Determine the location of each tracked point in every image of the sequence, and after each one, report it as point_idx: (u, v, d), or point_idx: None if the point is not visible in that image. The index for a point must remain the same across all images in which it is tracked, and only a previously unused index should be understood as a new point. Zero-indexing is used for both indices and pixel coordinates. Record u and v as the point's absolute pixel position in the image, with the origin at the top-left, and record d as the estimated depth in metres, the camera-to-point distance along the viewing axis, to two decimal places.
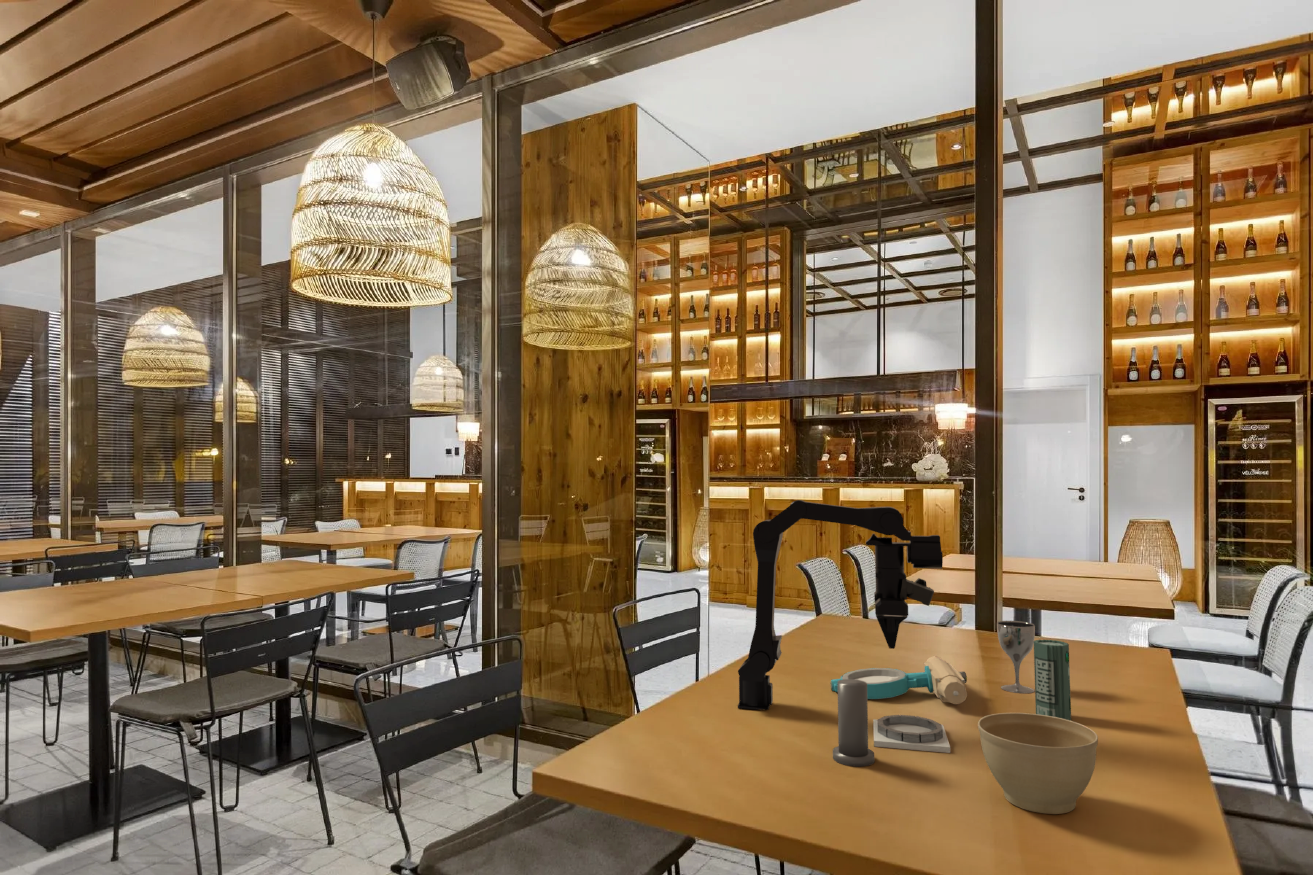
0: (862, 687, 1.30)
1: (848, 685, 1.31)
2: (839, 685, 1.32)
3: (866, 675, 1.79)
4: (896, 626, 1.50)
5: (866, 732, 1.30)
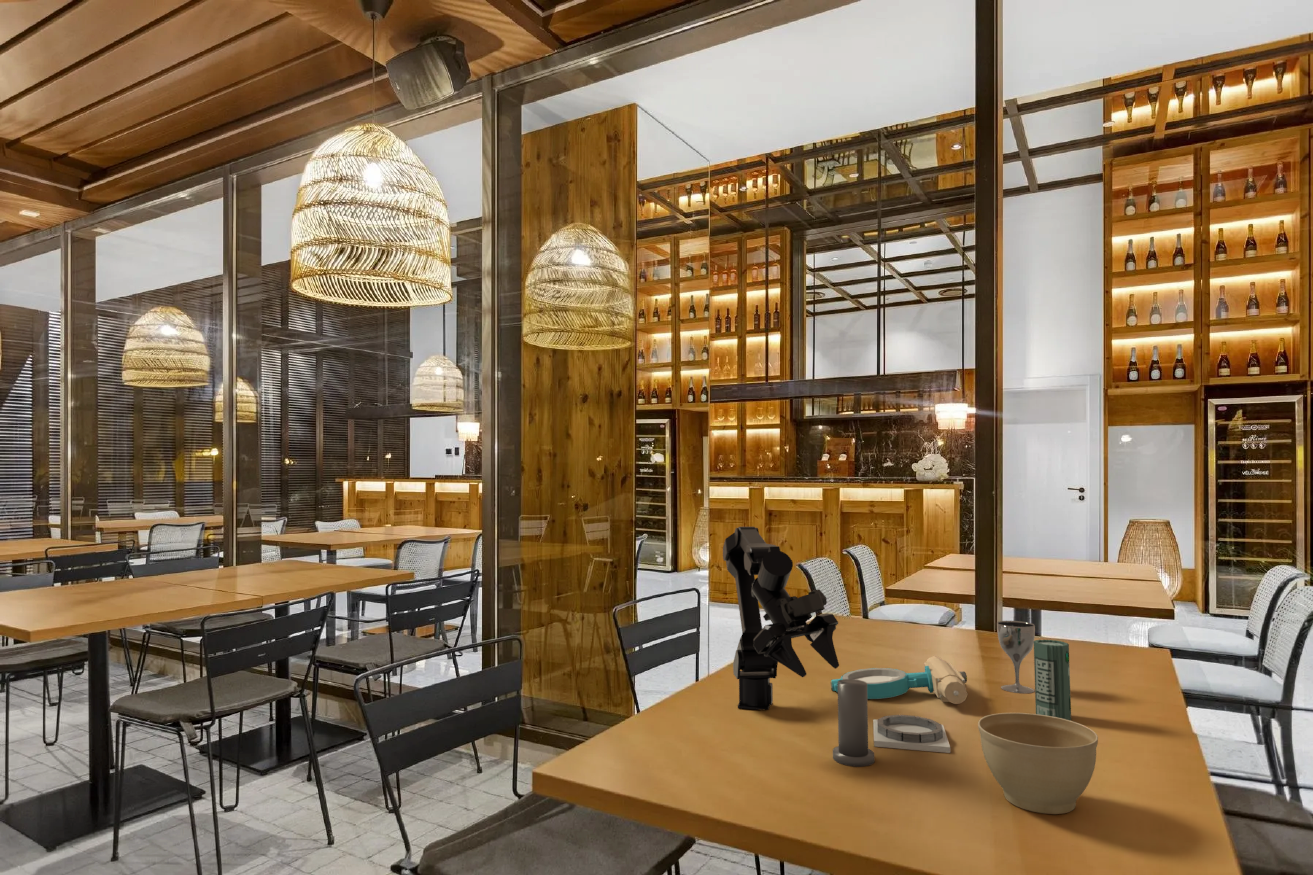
0: (862, 687, 1.30)
1: (848, 685, 1.31)
2: (839, 685, 1.32)
3: (866, 675, 1.79)
4: (787, 651, 1.37)
5: (866, 732, 1.30)
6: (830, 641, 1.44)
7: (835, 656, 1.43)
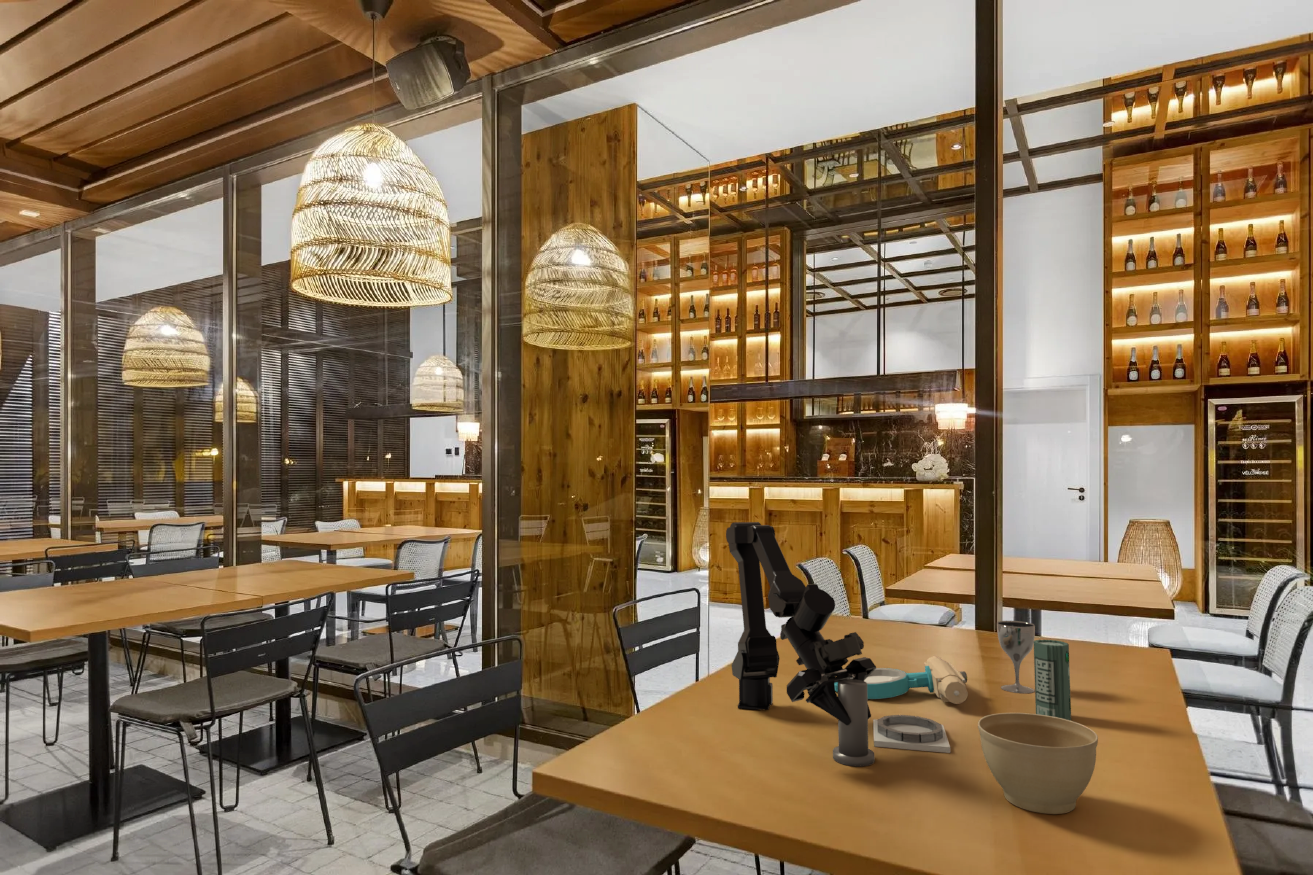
0: (862, 687, 1.30)
1: (848, 685, 1.31)
2: (839, 685, 1.32)
3: None
4: (830, 697, 1.31)
5: (866, 732, 1.30)
6: None
7: None
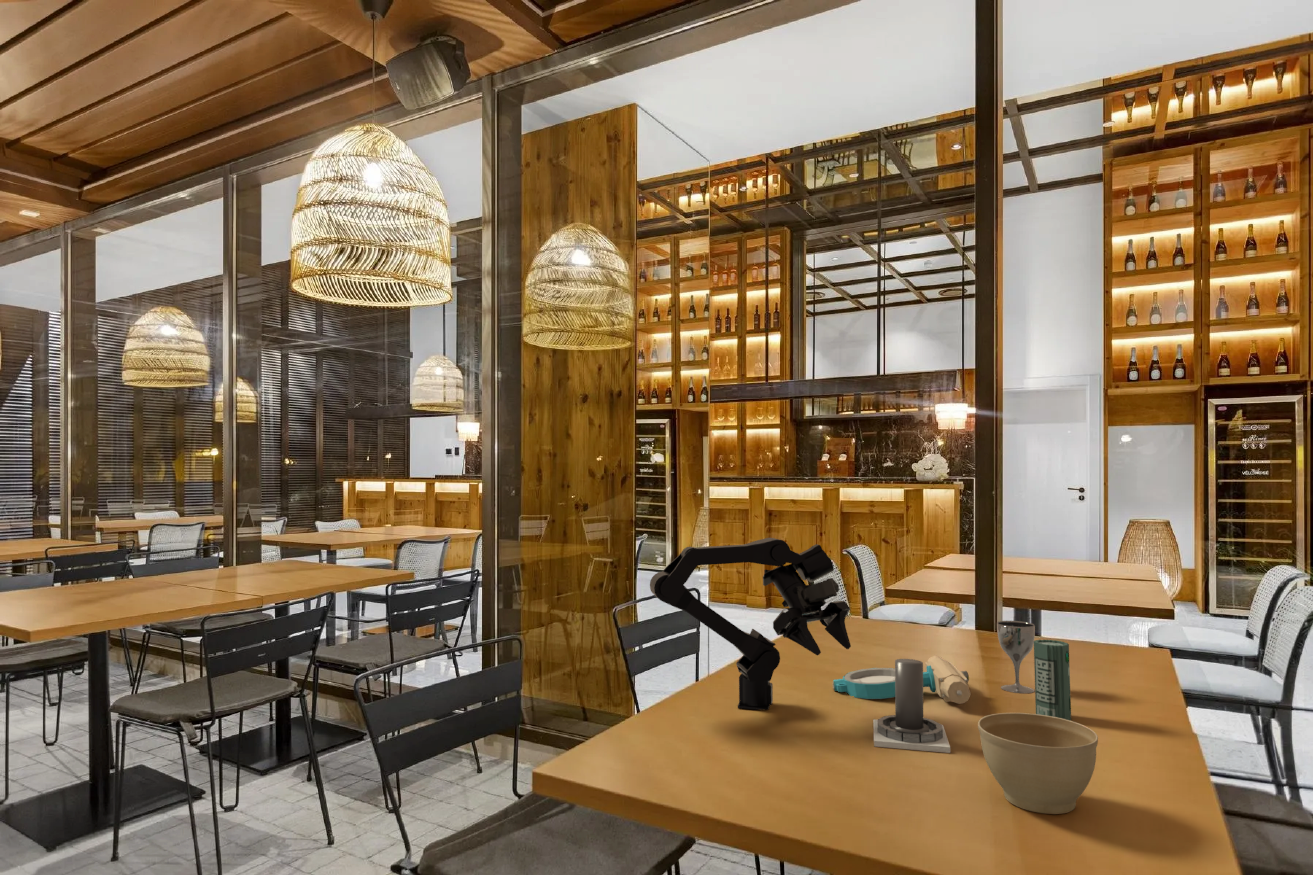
0: (919, 665, 1.41)
1: (906, 663, 1.42)
2: (897, 664, 1.43)
3: (868, 675, 1.79)
4: (803, 632, 1.53)
5: (922, 707, 1.41)
6: (842, 625, 1.60)
7: (847, 638, 1.58)
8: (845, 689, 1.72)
